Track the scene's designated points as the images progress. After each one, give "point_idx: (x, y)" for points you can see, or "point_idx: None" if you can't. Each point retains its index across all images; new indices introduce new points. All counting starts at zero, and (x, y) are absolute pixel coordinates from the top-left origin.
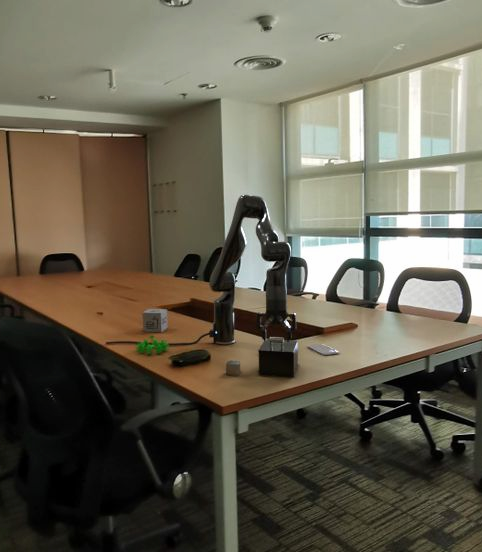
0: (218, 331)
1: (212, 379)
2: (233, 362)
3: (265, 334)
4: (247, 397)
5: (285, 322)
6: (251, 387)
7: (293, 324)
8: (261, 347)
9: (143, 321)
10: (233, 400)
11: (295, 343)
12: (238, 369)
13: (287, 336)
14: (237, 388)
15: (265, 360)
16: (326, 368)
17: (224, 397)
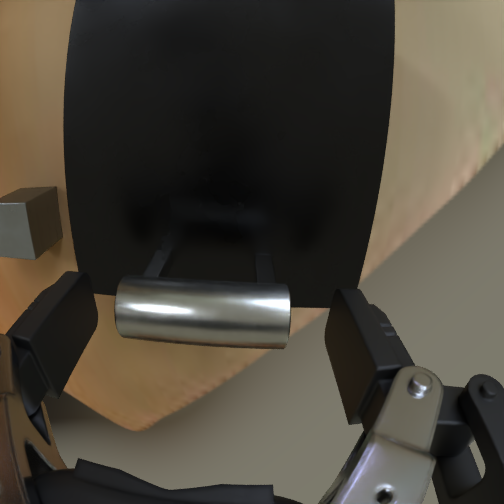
0: None
1: (14, 284)
2: (12, 234)
3: (72, 368)
4: (167, 404)
5: (380, 501)
6: (151, 346)
7: (450, 493)
8: (79, 216)
9: None
10: (141, 415)
11: (384, 34)
12: (48, 232)
13: (340, 379)
14: (113, 354)
15: None
16: (457, 79)
17: (112, 402)
